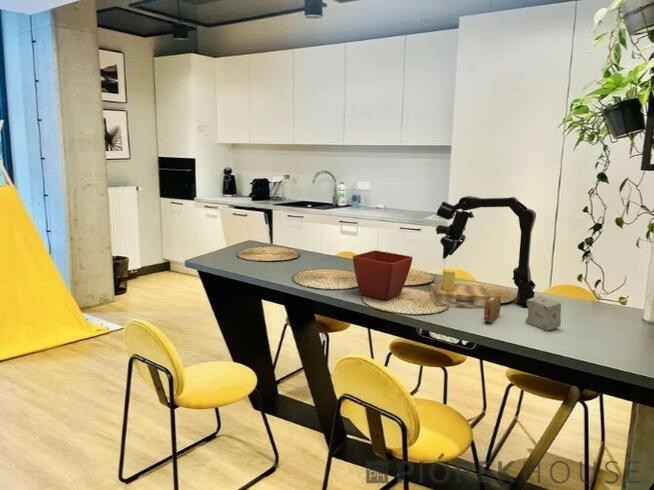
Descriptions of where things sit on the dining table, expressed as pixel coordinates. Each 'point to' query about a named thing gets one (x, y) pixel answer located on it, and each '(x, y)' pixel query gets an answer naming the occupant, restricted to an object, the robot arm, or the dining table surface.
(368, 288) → the plant pot
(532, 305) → the grey concrete block
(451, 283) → the yellow block
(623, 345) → the dining table surface
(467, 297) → the tan flat piece
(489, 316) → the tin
